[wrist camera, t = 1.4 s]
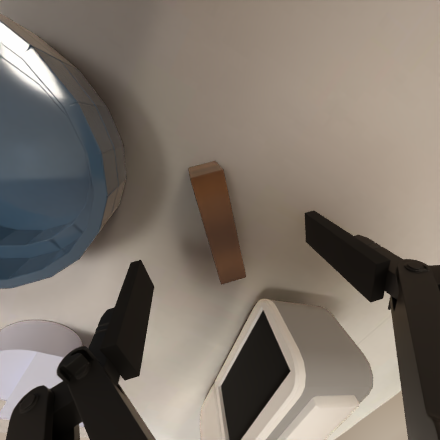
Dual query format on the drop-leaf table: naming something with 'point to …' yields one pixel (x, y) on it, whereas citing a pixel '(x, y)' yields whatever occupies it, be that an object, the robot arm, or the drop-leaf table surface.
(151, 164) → the drop-leaf table surface
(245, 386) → the alarm clock
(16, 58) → the bowl
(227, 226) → the stick
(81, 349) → the robot arm
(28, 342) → the wedge on round base
